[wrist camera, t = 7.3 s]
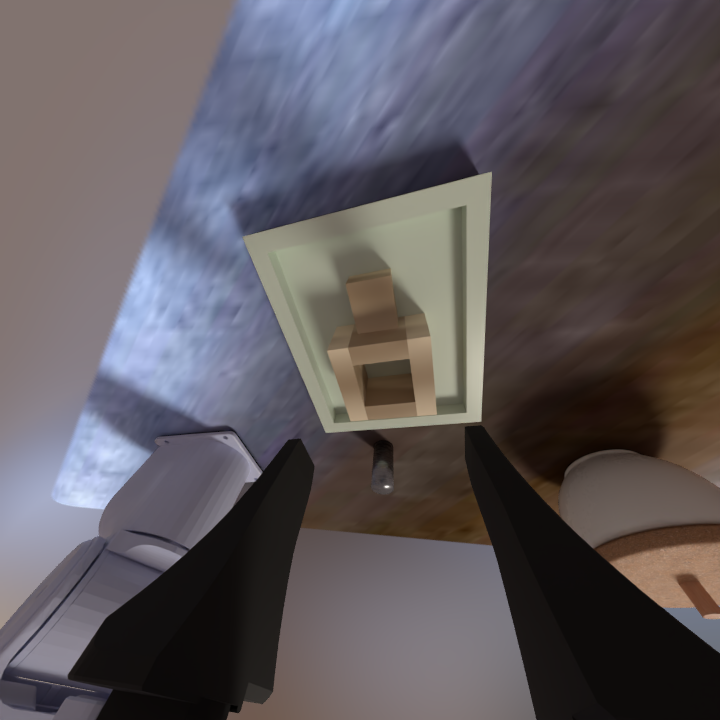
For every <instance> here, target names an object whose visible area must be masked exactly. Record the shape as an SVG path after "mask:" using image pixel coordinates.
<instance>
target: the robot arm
mask: <svg viewBox="0 0 720 720" xmlns="http://www.w3.org/2000/svg"><path fill="white" fill-rule="evenodd" d="M155 443H156V444H157V445H158V446H159V447H158V448H157V450H156V451H155V452H154V453H153V454H152V455H151V456H150V457H149V458H148V459H147V460H146V462H145V463H144V464H143V465H142V466H141V467H140V468H139V469H138V470H137V471H136V472H135V474H134V475H133V476H132V477H131V478H130V479H129V480H128V481H127V482H126V483H125V484H124V486H123V487H122V488H121V489H120V490H119V491H118V492H117V493H116V494H115V495H114V496H113V498H112V499H111V500H110V502H109V503H108V504H107V506H106V508H105V510H104V512H103V514H102V517H101V520H100V523H99V536H97V537H95V538H93V539H92V540H88V541H85V542H83V543H81V544H80V545H78V546H77V547H76V548H75V549H74V550H73V551H72V552H71V553H70V554H69V555H68V556H67V557H66V558H65V559H64V560H63V561H62V562H61V563H60V564H59V565H58V566H57V567H56V568H55V569H54V570H53V571H52V572H51V573H50V574H49V576H47V577H46V579H45V580H44V581H43V582H42V583H41V584H40V585H39V586H38V587H37V589H35V591H34V592H33V593H32V594H31V595H30V596H29V597H28V598H27V599H26V601H25V602H24V603H23V604H22V605H21V606H20V607H19V609H18V610H17V611H16V612H15V613H14V614H13V616H12V617H11V618H10V619H9V620H8V621H7V622H6V624H5V625H4V626H3V627H2V628H1V630H0V720H226V719H227V716H228V713H229V712H235V713H239V712H240V710H241V707H242V704H243V701H247V702H254V703H260V704H263V703H264V702H265V701H266V700H267V699H268V698H269V697H270V695H271V694H272V692H273V686H274V675H275V668H276V658H277V651H278V642H279V635H280V628H281V621H282V614H283V607H284V602H285V596H286V590H287V583H288V579H289V573H290V568H291V563H292V558H293V553H294V549H295V545H296V541H297V537H298V534H299V530H300V527H301V523H302V520H303V516H304V513H305V509H306V505H307V502H308V498H309V494H310V491H311V486H312V480H313V473H314V464H313V462H312V460H311V458H310V456H309V454H308V452H307V450H306V448H305V446H304V444H303V443H302V441H301V439H291V440H288V441H287V442H286V444H285V445H284V446H283V447H282V449H281V450H280V451H279V452H278V454H277V455H276V456H275V457H274V459H273V460H272V461H271V463H270V464H269V465H268V466H267V468H266V469H265V470H264V471H263V472H262V470H261V469H260V468H259V466H258V465H257V463H256V462H255V460H254V459H253V458H252V456H251V455H250V453H249V452H248V450H247V449H246V448H245V446H244V445H243V443H242V442H241V441H240V439H239V438H238V436H237V435H236V434H235V433H234V432H232V431H225V432H212V433H200V434H187V435H175V436H163V437H157V438H156V439H155ZM465 460H466V464H467V469H468V473H469V477H470V481H471V485H472V488H473V491H474V494H475V496H476V499H477V502H478V505H479V508H480V511H481V514H482V517H483V519H484V522H485V525H486V528H487V531H488V534H489V537H490V539H491V542H492V545H493V548H494V552H495V555H496V558H497V561H498V565H499V569H500V573H501V577H502V580H503V584H504V588H505V592H506V596H507V599H508V604H509V607H510V612H511V615H512V619H513V623H514V627H515V631H516V635H517V639H518V644H519V648H520V651H521V655H522V660H523V664H524V668H525V672H526V676H527V681H528V685H529V689H530V694H531V698H532V702H533V706H534V711H535V715H536V719H537V720H720V653H719V652H717V651H716V650H715V649H713V648H712V647H711V646H710V645H708V644H707V643H706V642H704V641H703V640H702V639H700V638H699V637H698V636H697V635H696V634H694V633H693V632H692V631H691V630H689V629H688V628H687V627H686V626H684V625H683V624H682V623H680V622H679V621H678V620H677V619H675V618H674V617H673V616H672V615H670V614H669V613H668V612H667V611H666V610H665V609H663V608H662V607H661V606H660V605H658V604H657V603H656V602H655V601H654V600H652V599H651V598H650V597H649V596H647V595H646V594H645V593H644V592H643V591H641V590H640V589H639V588H638V587H637V586H636V585H634V584H633V583H632V582H631V581H630V580H629V579H628V578H626V577H625V576H624V575H623V574H622V573H621V572H619V571H618V570H617V569H616V568H615V567H614V566H613V565H611V564H610V563H609V562H608V561H607V560H606V559H604V558H603V557H602V556H601V555H600V554H599V553H598V552H596V551H595V550H594V549H593V548H592V547H591V546H590V545H589V544H588V543H587V542H586V541H585V540H583V539H582V538H581V537H580V536H579V535H578V534H577V533H576V532H575V531H574V530H573V529H572V528H571V527H570V526H569V525H568V524H567V523H566V522H565V521H564V520H563V519H562V518H560V517H559V516H558V514H557V513H556V512H555V511H554V510H553V509H552V508H551V507H550V506H549V505H548V504H547V503H546V502H545V501H544V500H543V499H542V498H541V497H540V496H539V495H538V494H537V493H536V492H535V490H534V489H533V488H532V487H531V486H530V485H529V484H528V483H527V482H526V480H525V479H524V478H523V477H522V476H521V475H520V474H519V472H518V471H517V470H516V469H515V468H514V466H513V465H512V464H511V463H510V462H509V460H508V459H507V458H506V457H505V456H504V454H503V453H502V452H501V450H500V449H499V448H498V447H497V445H496V444H495V443H494V441H493V440H492V438H491V437H490V436H489V434H488V433H487V431H486V430H485V428H484V427H483V426H481V425H480V426H467V427H465ZM245 482H254V484H253V485H252V486H251V487H250V488H249V490H248V491H247V492H246V493H245V494H244V495H243V496H242V498H241V499H240V500H239V501H238V502H237V503H236V505H235V506H234V507H233V505H234V503H235V501H236V499H237V497H238V495H239V493H240V491H241V489H242V487H243V485H244V483H245ZM232 507H233V508H232ZM19 677H23V678H28V679H33V680H38V681H33V680H28V679H23V678H19ZM39 681H44V682H49V683H54V684H49V683H44V682H39ZM55 684H60V685H65V686H70V687H75V688H70V687H65V686H60V685H55ZM76 688H80V689H76ZM81 689H86V690H81ZM87 690H91V691H87ZM92 691H96V692H92Z"/></svg>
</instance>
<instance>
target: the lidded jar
mask: <svg viewBox="0 0 720 720" xmlns="http://www.w3.org/2000/svg"><path fill="white" fill-rule="evenodd" d="M564 478H565V479H564V480H563V482H562V485H561V488H560V490H559V497H558V506H559V513H560V517H561V518H562V519H563V520H564V521H565V522H566V523H567V524H568V525H569V526H570V527H571V528H572V529H573V530H574V531H575V532H576V533H577V534H578V535H579V536H580V537H581V538H582V539H583V540H585V541H586V542H587V543H588V544H589V545H590V546H591V547H592V548H593V549H594V550H595V551H596V552H598V553H599V554H600V555H601V556H602V557H603V558H604V559H606V560H607V561H608V562H609V563H610V564H611V565H613V566H614V567H615V568H616V569H617V570H618V571H619V572H621V573H622V574H623V575H624V576H625V577H626V578H628V579H629V580H630V581H631V582H632V583H633V584H634V585H636V586H637V587H638V588H639V589H640V590H641V591H643V592H644V593H645V594H646V595H647V596H649V597H650V598H651V599H652V600H654V601H655V602H656V603H657V604H658V605H660V606H661V607H669V608H683V607H686V608H690V607H696V609H697V610H698V611H699V613H700V614H701V615H702V617H703V618H707V619H720V607H719V606H718V605H720V488H719V487H717V486H716V485H714V484H713V483H711V482H710V481H708V480H706V479H705V478H703V477H702V476H700V475H698V474H696V473H694V472H692V471H690V470H688V469H686V468H684V467H682V466H679V465H677V464H674V463H671V462H669V461H666V460H662V459H658V458H655V457H651V456H645V455H641V454H639V453H637V452H634V451H631V450H625V449H610V450H603V451H598V452H594V453H591V454H588V455H585V456H583V457H581V458H579V459H577V460H576V461H574V462H573V463H572V464H570V465H569V466H568V468H567V469H566V471H565V473H564Z"/></svg>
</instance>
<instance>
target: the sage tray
mask: <svg viewBox="0 0 720 720" xmlns="http://www.w3.org/2000/svg"><path fill="white" fill-rule="evenodd" d="M491 178H492V172H489V173H484V174H479V175H476V176H472V177H468V178H464V179H460V180H456V181H453V182H449V183H445V184H441V185H437V186H433V187H430V188H426V189H422V190H418V191H414V192H410V193H407V194H403V195H399V196H395V197H391V198H388V199H384V200H380V201H376V202H372V203H368V204H365V205H361V206H357V207H353V208H349V209H345V210H342V211H338V212H334V213H330V214H326V215H322V216H319V217H315V218H311V219H307V220H303V221H299V222H296V223H292V224H288V225H284V226H280V227H276V228H273V229H269V230H265V231H261V232H257V233H254V234H251V235H247V236H244V237H243V240H244V242H245V244H246V247H247V249H248V251H249V254H250V256H251V258H252V261H253V263H254V266H255V268H256V270H257V273H258V275H259V277H260V280H261V282H262V284H263V287H264V289H265V291H266V294H267V296H268V298H269V301H270V303H271V305H272V308H273V310H274V312H275V315H276V317H277V319H278V322H279V324H280V326H281V329H282V331H283V333H284V336H285V338H286V341H287V343H288V345H289V348H290V350H291V352H292V355H293V357H294V359H295V362H296V364H297V366H298V369H299V371H300V373H301V376H302V378H303V380H304V383H305V385H306V387H307V390H308V392H309V394H310V397H311V399H312V401H313V404H314V406H315V408H316V411H317V413H318V415H319V418H320V420H321V423H322V425H323V427H324V430H325V432H326V433H330V432H344V431H358V430H372V429H385V428H399V427H413V426H427V425H440V424H454V423H468V422H481V412H482V389H483V365H484V342H485V318H486V295H487V272H488V248H489V225H490V201H491ZM389 268H391V274H392V280H393V287H394V294H395V300H396V307H397V314H398V317H403V316H409V315H415V314H421V313H424V314H425V317H426V321H427V325H428V328H429V332H430V336H431V346H432V359H433V371H434V384H435V396H436V409H437V415H426V416H413V417H401V418H388V419H375V420H362V421H350V418H349V415H348V412H347V409H346V406H345V403H344V400H343V397H342V394H341V391H340V388H339V385H338V382H337V379H336V376H335V373H334V370H333V367H332V364H331V361H330V358H329V355H328V352H327V350H328V347H329V345H330V342H331V340H332V337H333V335H334V332H335V330H336V328H337V327H340V326H346V325H352V324H355V320H354V316H353V312H352V308H351V304H350V300H349V296H348V292H347V288H346V282H347V280H348V278H349V276H354V275H359V274H364V273H369V272H374V271H379V270H384V269H389ZM365 368H366V372H367V376H368V378H373V377H382V376H391V375H400V374H409V373H411V365H410V359H403V360H395V361H387V362H379V363H371V364H365Z"/></svg>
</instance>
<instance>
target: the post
mask: <svg viewBox="0 0 720 720" xmlns="http://www.w3.org/2000/svg"><path fill="white" fill-rule="evenodd" d="M371 488H372V490H373V491H374V492H376V493H378V494H389V493H391V492H392V491H393V445H392V444H391V443H390V442H387V441H379V442H377V443H375V445H374V455H373V470H372V484H371Z"/></svg>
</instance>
